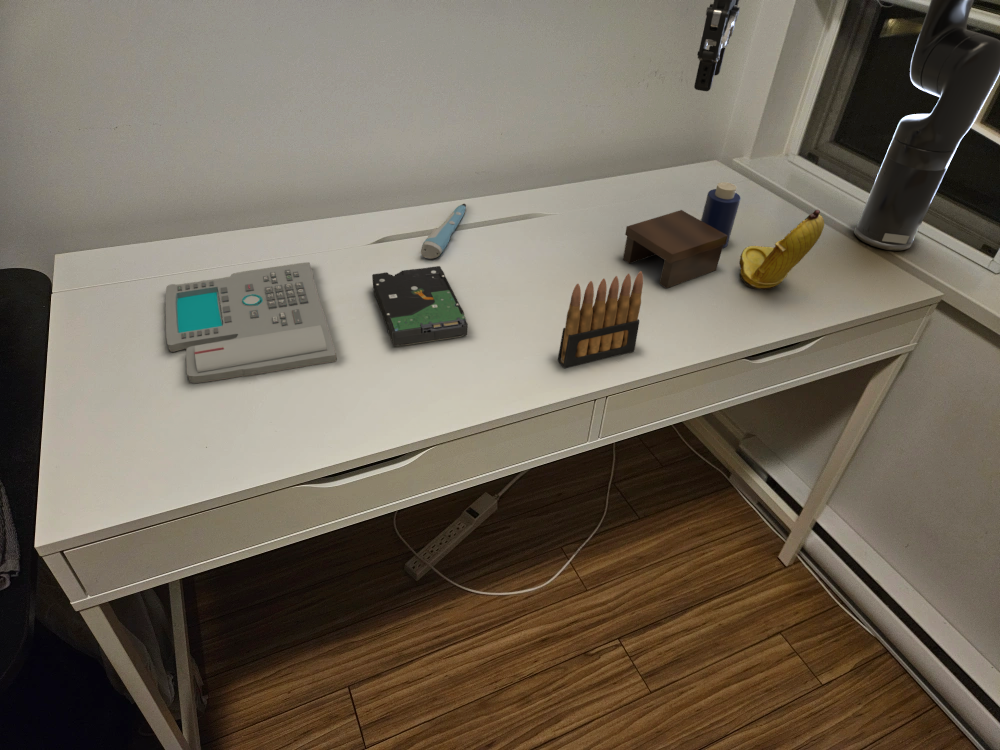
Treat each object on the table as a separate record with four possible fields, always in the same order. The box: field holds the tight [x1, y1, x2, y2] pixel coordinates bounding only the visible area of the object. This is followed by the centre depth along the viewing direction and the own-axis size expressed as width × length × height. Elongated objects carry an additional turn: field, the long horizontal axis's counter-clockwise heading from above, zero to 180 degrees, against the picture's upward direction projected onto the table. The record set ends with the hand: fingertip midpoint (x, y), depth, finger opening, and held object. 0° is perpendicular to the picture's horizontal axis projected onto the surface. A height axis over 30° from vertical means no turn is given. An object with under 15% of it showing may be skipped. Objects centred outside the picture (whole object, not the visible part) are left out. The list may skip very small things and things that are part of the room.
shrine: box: [738, 209, 825, 291], centre depth 103 cm, size 12×8×15 cm
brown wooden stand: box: [622, 209, 728, 289], centre depth 109 cm, size 12×10×6 cm
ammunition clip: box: [557, 270, 644, 369], centre depth 88 cm, size 11×2×12 cm, turn 113°
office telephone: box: [165, 261, 338, 384], centre depth 92 cm, size 23×3×20 cm
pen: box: [420, 203, 467, 259], centre depth 115 cm, size 19×3×3 cm, turn 166°
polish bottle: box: [700, 181, 742, 250], centre depth 114 cm, size 5×5×10 cm
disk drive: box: [371, 265, 469, 347], centre depth 96 cm, size 10×3×15 cm
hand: (706, 81), depth 99 cm, fingers open, 8 cm apart
